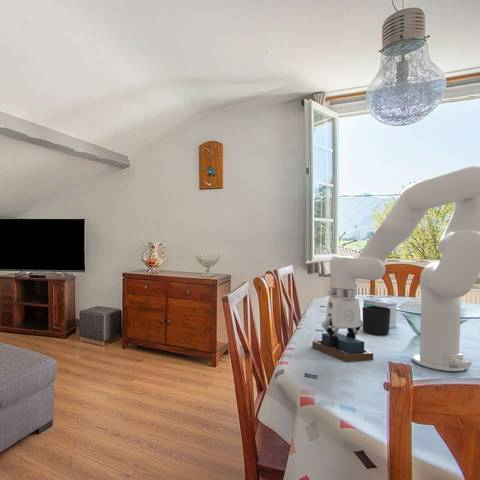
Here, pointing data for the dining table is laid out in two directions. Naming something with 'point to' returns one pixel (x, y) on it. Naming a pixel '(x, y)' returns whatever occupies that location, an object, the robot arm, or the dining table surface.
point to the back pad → (345, 343)
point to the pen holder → (376, 320)
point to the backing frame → (342, 353)
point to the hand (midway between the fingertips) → (342, 346)
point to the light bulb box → (384, 303)
